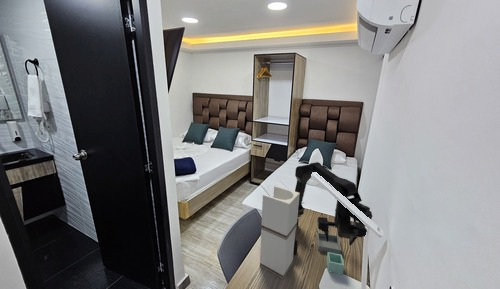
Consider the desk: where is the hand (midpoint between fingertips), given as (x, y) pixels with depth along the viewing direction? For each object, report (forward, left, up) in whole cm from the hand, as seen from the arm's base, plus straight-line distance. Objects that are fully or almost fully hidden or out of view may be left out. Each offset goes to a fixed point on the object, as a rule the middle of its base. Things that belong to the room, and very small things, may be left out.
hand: (338, 243), depth 87 cm
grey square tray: (-1, +13, -13) cm, 18 cm away
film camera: (-24, +7, -13) cm, 28 cm away
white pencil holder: (-25, -6, -13) cm, 29 cm away
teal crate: (0, -1, -12) cm, 12 cm away
